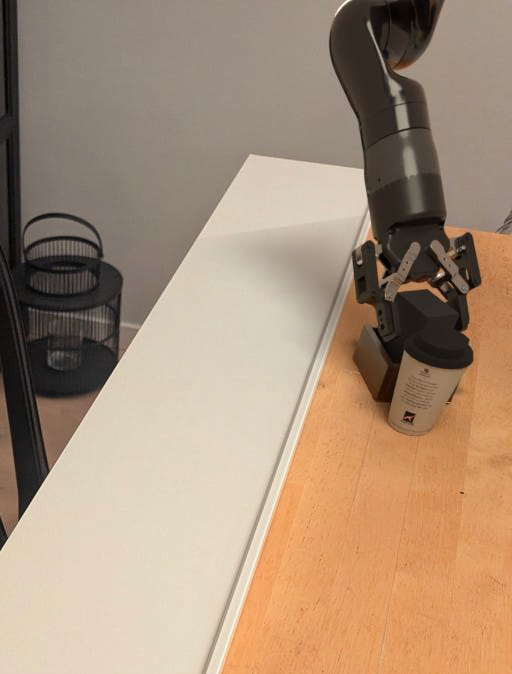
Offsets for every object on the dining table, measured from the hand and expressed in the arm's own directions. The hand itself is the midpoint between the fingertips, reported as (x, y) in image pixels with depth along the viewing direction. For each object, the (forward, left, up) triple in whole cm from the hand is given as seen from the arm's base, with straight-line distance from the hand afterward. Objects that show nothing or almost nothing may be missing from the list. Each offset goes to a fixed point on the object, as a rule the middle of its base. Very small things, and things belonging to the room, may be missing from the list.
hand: (426, 335), depth 100 cm
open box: (0, -1, -6) cm, 6 cm away
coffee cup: (+2, +8, -6) cm, 10 cm away
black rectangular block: (0, -1, -5) cm, 6 cm away
